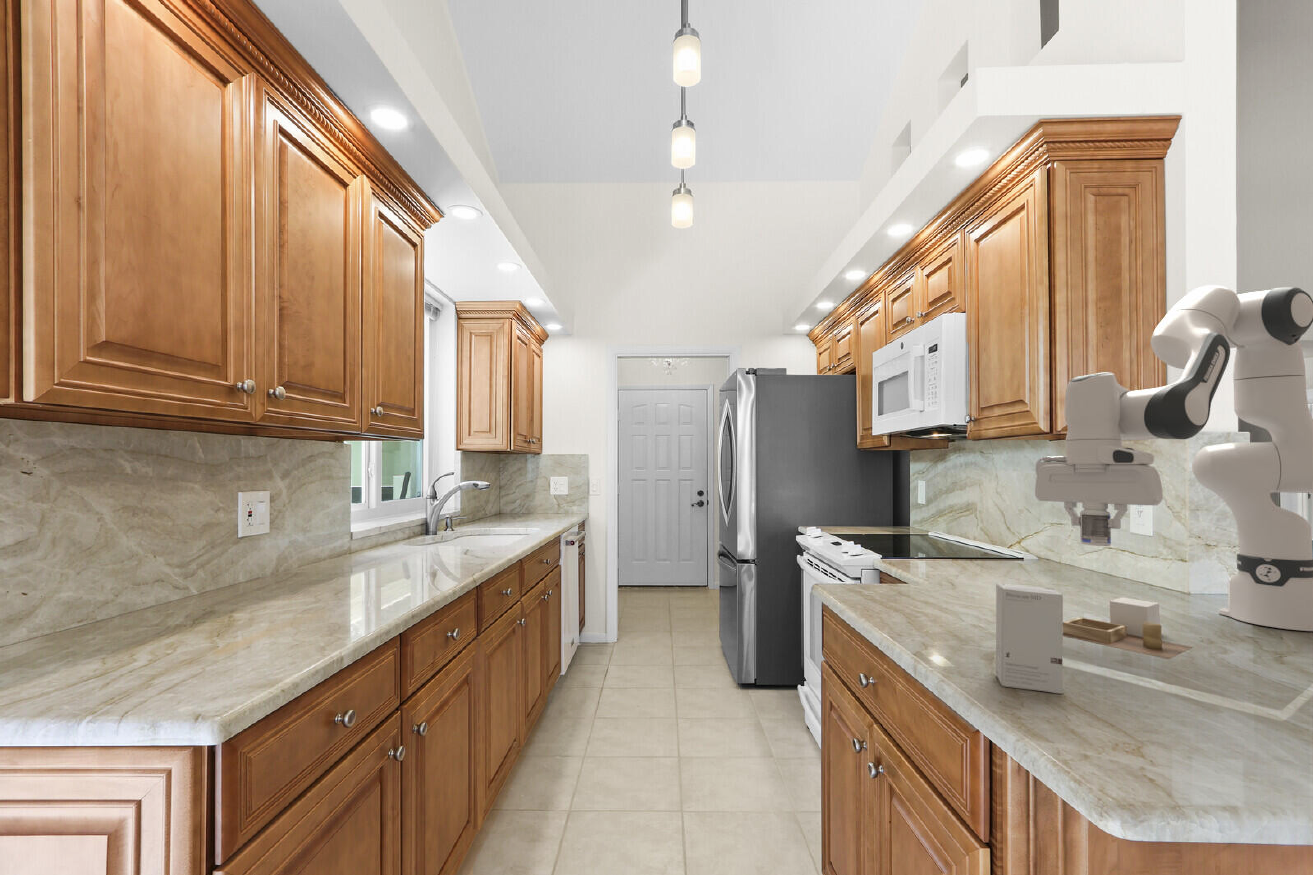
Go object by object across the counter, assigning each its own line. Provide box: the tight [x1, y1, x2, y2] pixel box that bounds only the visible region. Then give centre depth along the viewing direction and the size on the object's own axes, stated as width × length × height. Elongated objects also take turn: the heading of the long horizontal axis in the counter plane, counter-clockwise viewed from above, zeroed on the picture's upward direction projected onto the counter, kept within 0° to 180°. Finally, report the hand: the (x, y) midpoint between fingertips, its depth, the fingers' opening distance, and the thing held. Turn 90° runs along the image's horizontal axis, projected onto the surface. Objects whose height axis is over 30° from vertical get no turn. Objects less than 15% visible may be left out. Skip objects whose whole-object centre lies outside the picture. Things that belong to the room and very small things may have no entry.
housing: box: [1109, 597, 1161, 637], centre depth 117 cm, size 6×6×7 cm
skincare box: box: [995, 582, 1064, 694], centre depth 92 cm, size 8×6×15 cm
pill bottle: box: [1079, 501, 1112, 547], centre depth 115 cm, size 5×5×8 cm
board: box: [1063, 616, 1193, 660], centre depth 111 cm, size 12×17×5 cm
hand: (1095, 527), depth 115 cm, fingers closed on pill bottle, 5 cm apart
